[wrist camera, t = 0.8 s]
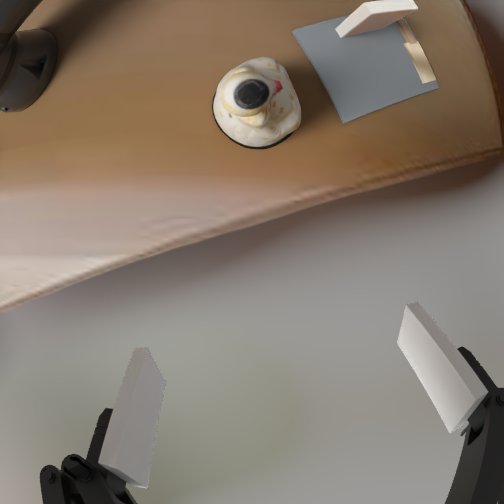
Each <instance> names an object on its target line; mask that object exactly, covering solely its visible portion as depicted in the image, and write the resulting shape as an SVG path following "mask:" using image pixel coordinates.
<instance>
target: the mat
mask: <svg viewBox="0 0 504 504" xmlns="http://www.w3.org/2000/svg"><path fill="white" fill-rule="evenodd" d="M349 16H350V15H349ZM349 16H344V17H339V18H335V19H331V20H327V21H323V22H319V23H315V24H312V25H308V26H305V27H302V28H298V29H295V30H292V34H293V35H294V37H295V38H296V40H297V41H298V43H299V44H300V46H301V48H302V49H303V51H304V52H305V54H306V56H307V57H308V59H309V61H310V62H311V64H312V66H313V67H314V69H315V71H316V73H317V75H318V76H319V78H320V80H321V82H322V84H323V85H324V87H325V89H326V91H327V93H328V95H329V97H330V99H331V101H332V103H333V105H334V107H335V109H336V111H337V113H338V115H339V117H340V119H341V121H342V123H346V122H349V121H351V120H353V119H356V118H358V117H361V116H363V115H366V114H368V113H371V112H373V111H376V110H378V109H381V108H383V107H386V106H389V105H391V104H394V103H397V102H400V101H402V100H405V99H408V98H411V97H414V96H417V95H420V94H423V93H426V92H429V91H432V90H435V89H438V88H439V86H438V83H437V81H436V80H434V81H431V82H427V83H422V81H421V78H420V76H419V74H418V72H417V70H416V67H415V65H414V63H413V61H412V59H411V57H410V55H409V53H408V51H407V49H406V47H405V45H404V44H405V43H407V42H406V40H405V39H404V37H403V35H402V33H401V31H400V30H399V28H398V26H397V25H396V23H395V22H393V23H391V24H390V25H388V26H386V27H384V28H383V29H378V30H373V31H368V32H363V33H359V34H355V35H351V36H347V37H343V38H340V36H339V34H338V33H337V31H336V30H335V29H336V28H337V27H338V26H339V25H340V24H341V23H342V22H343V21H344V20H345V19H346V18H348V17H349ZM403 19H404V20H405V22H406V24H407V25H408V27H409V29H410V31H411V32H412V34H413V36H414V38H415V40H416V41H418V40H417V39H416V37H415V35H414V33H413V31H412V30H411V28H410V26H409V24H408V23H407V21H406V19H405V18H404V17H403Z"/></svg>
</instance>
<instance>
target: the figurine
mask: <svg viewBox="0 0 504 504" xmlns="http://www.w3.org/2000/svg"><path fill="white" fill-rule="evenodd" d="M212 110H213V116H214V119H215V121H216V123H217V125H218V127H219V128H220V130H221V131H222V132H223V133H224V134H225V135H226V136H227V137H228V138H229V139H231V140H232V141H233V142H235V143H237V144H239V145H241V146H243V147H245V148H250V149H267V148H270V147H273V146H276V145H277V144H279V143H281V142H283V141H284V140H285V139H287V138H288V137H289V136H290V135H291V134H292V133H293V132H294V130H296V129H297V128H298V127H299V126H300V123H301V107H300V103H299V100H298V97H297V95H296V92H295V90H294V88H293V85H292V83H291V81H290V79H289V76H288V74H287V72H286V70H285V68H284V67H283V66H282V65H281V64H279V63H278V62H277V61H276V60H274V59H272V58H270V57H260V58H255V59H252V60H249V61H246V62H244V63H242V64H241V65H239V66H238V67H236V68H234V69H232V70H230V71H229V72H228V73H227V74H226V75H225V76H224V77H223V79H222V80H221V81H220V83H219V85H218V88H217V91H216V93H215V95H214V98H213V104H212Z"/></svg>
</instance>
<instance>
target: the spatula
mask: <svg viewBox="0 0 504 504" xmlns="http://www.w3.org/2000/svg"><path fill="white" fill-rule="evenodd" d="M395 23H396V25H397V26H398V28H399V30H400V31H401V33H402V35H403V37H404V39H405V40H406V42H407V43H405V44H404V45H405V47H406V49H407V51H408V53H409V55H410V57H411V59H412V61H413V63H414V65H415V67H416V70H417V72H418V74H419V76H420V78H421V81H422V83H427V82H431V81H434V80H436V78H435V75H434V73H433V71H432V68H431V66H430V64H429V62H428V60H427V58H426V56H425V54H424V52H423V50H422V48H421V46H420V44H419V42H418V41H416V40H415V38H414V36H413V34H412V32H411V31H410V29H409V27H408V25H407V24H406V22H405V20H404V19H403V17H402V18H400V19H398V20H397V21H395Z"/></svg>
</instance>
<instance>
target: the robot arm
mask: <svg viewBox="0 0 504 504" xmlns="http://www.w3.org/2000/svg"><path fill="white" fill-rule="evenodd" d="M42 1H43V0H0V110H1V111H4V112H19V111H22V110H24V109H26V108H28V107H29V106H30V105H31V104H33V103H34V102H35V101H36V99H37V98H38V97H39V96H40V95H41V93H42V92H43V90H44V89H45V87H46V85H47V83H48V82H49V80H50V77H51V75H52V73H53V70H54V67H55V63H56V59H57V42H56V39H55V37H54V36H53V35H52V34H51V33H50V32H47V31H45V30H42V29H33V30H24V31H17V30H18V28H19V27H20V26H21V25H22V23H23V22H24V21H25V20H26V19H27V17H28V16H29V15H30V14H31V13H32V12H33V10H34V9H35V8H36V7H37V6H38V5H39V4H40V3H41V2H42ZM16 31H17V32H16ZM397 344H398V345H399V347H400V349H401V350H402V352H403V353H404V355H405V356H406V358H407V360H408V361H409V363H410V364H411V366H412V368H413V369H414V371H415V372H416V374H417V376H418V378H419V379H420V381H421V383H422V384H423V386H424V388H425V390H426V391H427V393H428V395H429V396H430V398H431V400H432V402H433V403H434V405H435V407H436V409H437V411H438V413H439V414H440V416H441V418H442V420H443V422H444V424H445V426H446V427H447V429H448V431H449V433H451V432H453V431H455V430H457V429H458V428H460V427H462V426H463V424H464V423H465V422H466V421H467V420H468V421H469V425H468V426H467V427H466V428H465V429H464V430H463V431H462V433H461V436H463V435H464V434H465V432H466V435H465V441H464V445H463V450H462V453H461V457H460V461H459V464H458V468H457V471H456V474H455V477H454V480H453V483H452V486H451V489H450V492H449V495H448V497H447V499H446V502H445V504H497V502H498V504H504V388H498V387H497V386H496V385H495V384H494V382H493V381H492V380H491V378H490V377H489V376H488V374H487V373H486V371H485V370H484V369H483V367H482V366H480V363H479V362H478V361H476V359H475V357H474V356H473V355H472V353H471V352H470V351H468V350H467V349H465V348H464V347H460V348H458V349H457V348H456V347H455V346H454V345H453V343H452V342H451V341H450V340H449V338H448V337H447V336H446V335H445V333H444V332H443V331H442V330H441V328H440V327H439V326H438V325H437V324H436V322H435V321H434V320H433V319H432V318H431V317H430V315H429V314H428V313H427V312H426V311H425V310H424V309H423V307H422V306H421V305H420V304H419V303H418V302H414V303H411V304H407V305H406V307H405V312H404V317H403V321H402V325H401V330H400V334H399V338H398V342H397ZM165 386H166V380H165V379H164V377H163V375H162V373H161V372H160V370H159V368H158V366H157V364H156V362H155V361H154V359H153V357H152V355H151V353H150V351H149V349H148V348H135V349H134V351H133V354H132V357H131V359H130V362H129V365H128V368H127V370H126V373H125V376H124V379H123V382H122V385H121V388H120V391H119V394H118V397H117V400H116V403H115V406H114V409H109V408H106V409H105V410H104V411H103V412H102V414H101V415H100V416H99V419H98V422H97V425H96V426H97V427H96V428H95V431H94V433H95V434H94V435H93V438H92V441H91V444H90V448H89V451H88V454H87V458H86V460H85V459H84V458H82V457H81V456H79V455H76V454H72V455H68V456H67V457H65V458H64V460H63V461H62V465H61V470H59V469H58V468H56V467H55V466H53V465H47V466H45V467H44V468H42V470H41V473H40V483H41V492H42V499H43V504H137V503H136V501H135V500H134V498H133V497H132V495H131V494H130V492H129V491H128V489H127V488H126V487H125V486H126V482H127V483H129V484H130V485H132V486H136V487H141V488H147V489H148V483H149V475H150V469H151V462H152V456H153V450H154V444H155V438H156V432H157V427H158V421H159V415H160V411H161V406H162V401H163V396H164V390H165Z"/></svg>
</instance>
